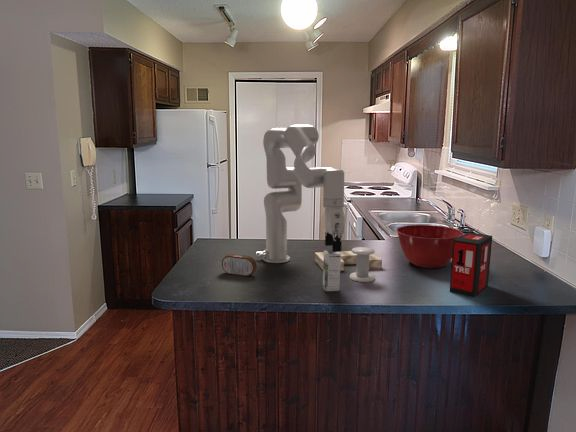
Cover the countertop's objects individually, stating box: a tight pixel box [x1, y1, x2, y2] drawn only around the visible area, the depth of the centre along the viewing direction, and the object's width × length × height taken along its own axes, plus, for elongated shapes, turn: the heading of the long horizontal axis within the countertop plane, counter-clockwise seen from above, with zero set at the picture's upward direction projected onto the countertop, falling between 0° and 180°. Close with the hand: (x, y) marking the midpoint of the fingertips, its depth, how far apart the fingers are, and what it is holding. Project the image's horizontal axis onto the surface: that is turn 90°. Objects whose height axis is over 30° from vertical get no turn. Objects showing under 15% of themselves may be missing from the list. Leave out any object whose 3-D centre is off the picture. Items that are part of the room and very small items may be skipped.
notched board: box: [314, 250, 383, 272], centre depth 202 cm, size 26×16×4 cm, turn 101°
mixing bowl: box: [396, 224, 464, 269], centre depth 203 cm, size 28×28×16 cm
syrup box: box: [322, 249, 341, 292], centre depth 170 cm, size 6×6×14 cm
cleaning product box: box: [449, 232, 493, 298], centre depth 171 cm, size 16×9×20 cm, turn 140°
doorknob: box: [349, 246, 376, 283], centre depth 183 cm, size 10×10×12 cm
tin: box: [221, 253, 258, 277], centre depth 187 cm, size 15×3×8 cm, turn 71°
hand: (332, 248), depth 168 cm, fingers open, 9 cm apart
